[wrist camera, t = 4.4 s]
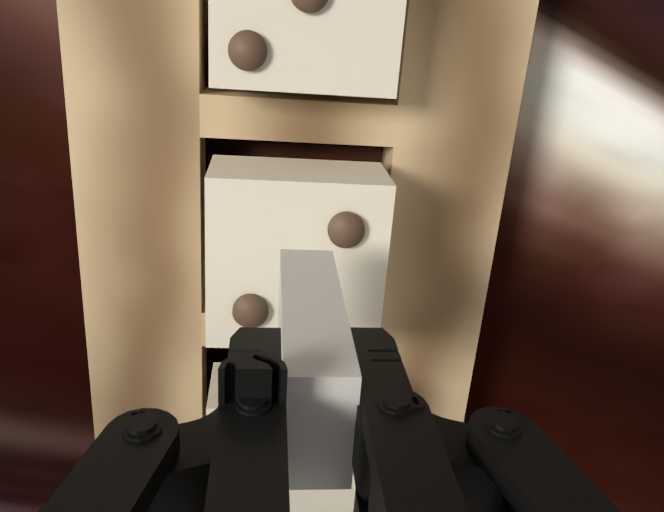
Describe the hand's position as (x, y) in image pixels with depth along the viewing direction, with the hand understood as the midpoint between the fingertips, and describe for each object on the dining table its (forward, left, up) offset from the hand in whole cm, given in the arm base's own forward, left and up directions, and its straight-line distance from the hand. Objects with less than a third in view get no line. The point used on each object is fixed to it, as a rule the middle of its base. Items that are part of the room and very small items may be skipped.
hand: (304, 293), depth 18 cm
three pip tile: (0, +8, -7) cm, 11 cm away
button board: (0, 0, -8) cm, 8 cm away
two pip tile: (0, 0, -6) cm, 6 cm away
